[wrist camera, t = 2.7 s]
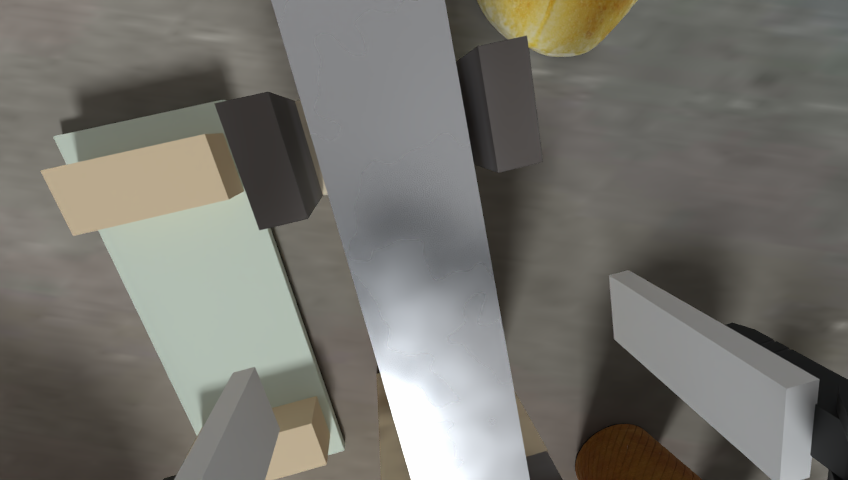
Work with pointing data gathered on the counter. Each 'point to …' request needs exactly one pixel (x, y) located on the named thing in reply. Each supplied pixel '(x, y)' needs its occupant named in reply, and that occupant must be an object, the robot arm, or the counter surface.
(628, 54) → the counter surface
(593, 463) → the disposable coffee cup
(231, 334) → the rest pad
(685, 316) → the robot arm
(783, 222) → the counter surface
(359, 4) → the rail
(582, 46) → the bread roll
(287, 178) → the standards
